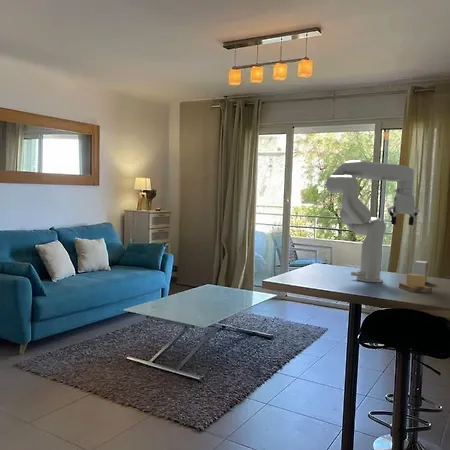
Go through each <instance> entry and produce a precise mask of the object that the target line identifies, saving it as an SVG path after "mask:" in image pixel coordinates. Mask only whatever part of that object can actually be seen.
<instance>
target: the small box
mask: <svg viewBox="0 0 450 450" xmlns="http://www.w3.org/2000/svg"><path fill="white" fill-rule="evenodd" d="M428 267H429V261H427V260H426V261H423V260H416V261H414V262H413V273H412V274H420V275H424V276H425V283H427V279H428V269H429V268H428Z"/></svg>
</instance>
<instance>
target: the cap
mask: <svg viewBox="0 0 450 450" xmlns="http://www.w3.org/2000/svg"><path fill="white" fill-rule="evenodd" d="M405 283H406V284H407V285H410V286H413V287H425V286H426V282H425V276H424V275H420V274H413V273H406V282H405Z"/></svg>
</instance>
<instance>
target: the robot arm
mask: <svg viewBox="0 0 450 450" xmlns="http://www.w3.org/2000/svg"><path fill="white" fill-rule="evenodd" d="M414 173H415V170H414V169H413V168H411V167H410V166H408V165H402V164H391V163H385V162H384V163H383V162H375V161H367V160H358V159H357V160H347V161H344V162H343V163H341V164H340V165H339V166H337V168H336V169H335V170H334V171H333V172H332V173H330V175H329V176H328V177H327V179H325V188H326V190H327V191H328V192H329V193H332V194H333V193H334V194H339V193H340V194H342V197H341V203H340V205H341V208H340V210H339V218H340V220H341V222H343V224H344V225H345V226H346V227H347V228H348V229H350V231H352V232H353V233H354V234H356V235H359V236H365V238H364V239H363V241H362V244H361V255H360V268H359V270H357V271H351V272H350V276H352V277H354V276H355V277H356V280H358V281H360V282H366V283H382V282H383V281H384V279H383V278H381V277H380V276H381V265H382V264H381V263H382V253H383V241H384V236H385V232H386V229H387V227H386V226H387V225H386V222H385V221H384V220H383V219H381V218H380V217H375V216H372V212H371V210H370V209H369V208H368V207H367V206H366V205H365V203H363V202H362V200H361V199H360V198H359V197H358V189H359V183H358V180H357V179H364V180H372V181H387V182H397V184H396V185H397V186H396V189H394V192H395V193H396V194H394V197H393V198H394V199H393V204H392V205H391V206H388V207H387V209H386V210H387V212H388V214H389V216H390V217H391V218H390V219H391V220H390V222H391V225H393V226H395V225H396V224H397V215H398V214H404V215H408V216H409V218H408V226H414V222H415V217H416V216H417V215H418V214H419V212H420V209H419V208H418V207H416V206H415V205H416V204H415V196H414V194H413V189H414V188H413V186H414V175H415V174H414Z"/></svg>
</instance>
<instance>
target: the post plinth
mask: <svg viewBox="0 0 450 450" xmlns="http://www.w3.org/2000/svg"><path fill="white" fill-rule="evenodd" d="M398 285H399V286H398V288H400V289H402V290H405V291H407V292H410V293H433V292H432V291H433V288H432V287H430V286H426V285H425V287H413V286H410V285H407V284H406V282H404V283H403V282H400V283H399V284H398Z"/></svg>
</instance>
